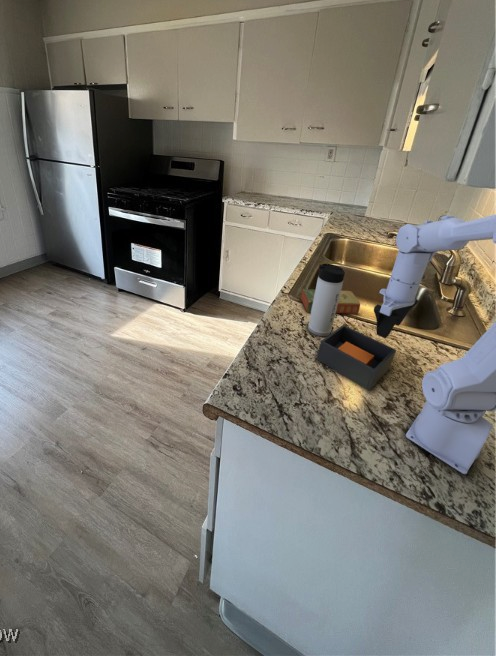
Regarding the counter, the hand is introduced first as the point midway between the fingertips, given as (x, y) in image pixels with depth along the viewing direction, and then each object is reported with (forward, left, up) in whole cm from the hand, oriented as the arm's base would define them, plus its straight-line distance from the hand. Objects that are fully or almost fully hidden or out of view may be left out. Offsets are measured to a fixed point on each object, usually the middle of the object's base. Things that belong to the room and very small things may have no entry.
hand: (388, 329), depth 74 cm
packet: (+4, +6, -9) cm, 11 cm away
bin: (+3, +6, -9) cm, 12 cm away
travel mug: (+16, 0, -10) cm, 19 cm away
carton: (+21, -14, -10) cm, 27 cm away
